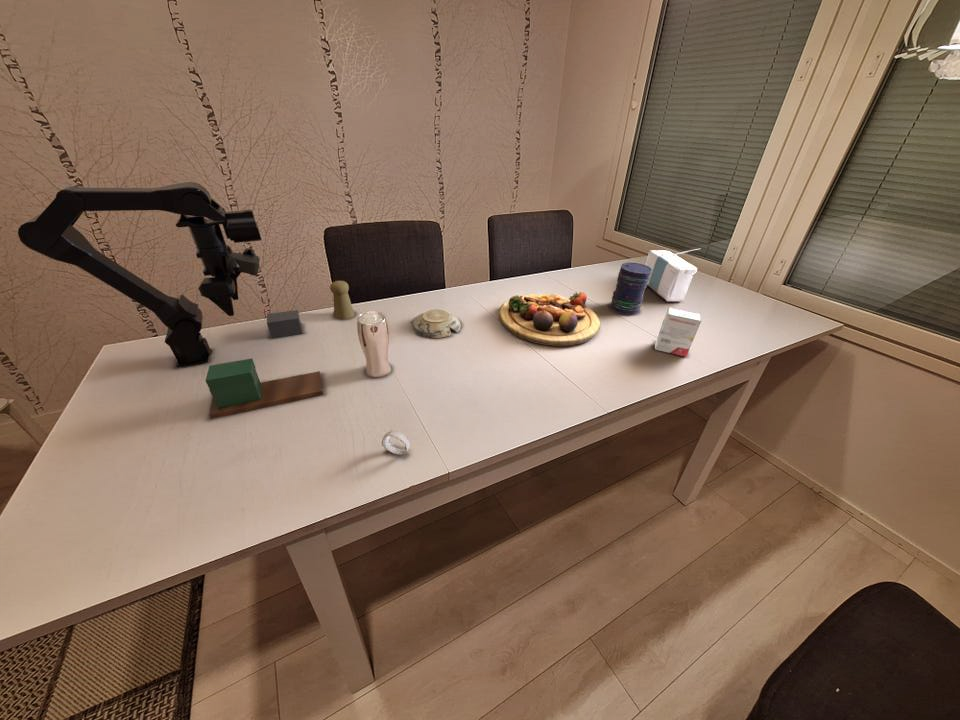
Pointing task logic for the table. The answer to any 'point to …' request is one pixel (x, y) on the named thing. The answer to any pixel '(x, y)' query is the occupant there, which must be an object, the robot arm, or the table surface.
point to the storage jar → (630, 288)
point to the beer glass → (374, 342)
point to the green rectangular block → (230, 374)
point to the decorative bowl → (436, 324)
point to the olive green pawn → (341, 300)
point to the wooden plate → (550, 319)
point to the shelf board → (276, 393)
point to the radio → (669, 274)
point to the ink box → (677, 332)
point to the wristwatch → (397, 435)
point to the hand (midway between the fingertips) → (233, 307)
